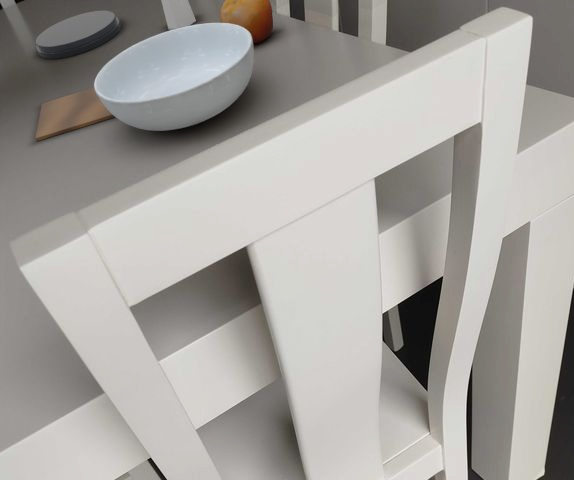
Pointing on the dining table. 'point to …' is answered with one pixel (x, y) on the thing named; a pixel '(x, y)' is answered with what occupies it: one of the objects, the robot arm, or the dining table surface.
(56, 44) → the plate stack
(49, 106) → the square wooden coaster
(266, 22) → the fruit
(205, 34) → the serving bowl
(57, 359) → the dining table surface
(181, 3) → the salt shaker
